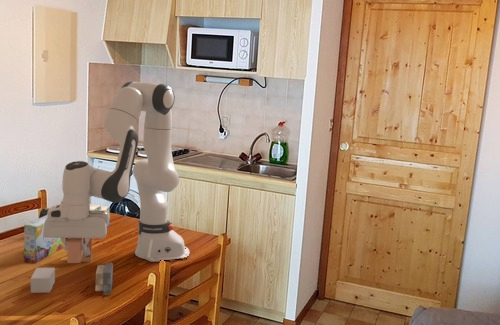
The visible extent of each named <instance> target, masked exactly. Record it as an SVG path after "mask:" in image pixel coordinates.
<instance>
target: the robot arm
mask: <svg viewBox="0 0 500 325" xmlns="http://www.w3.org/2000/svg"><path fill="white" fill-rule="evenodd" d="M175 99H176V97H175V92H174V90H173V88H172V87H170V86H169V85H167V84H165V83H157V82H154V81H153V82H151V81H127V82H126V83H124V84H123V85H122V86H121V88H120V89H119V90H118V92H117V93H116V95H115V96H114V98H113V100H112V101H111V103H110V105H109V107H108V110H107V112H106V114H105V117H104V120H103V121H104V122H103V126H104V129H105V132H106V133H107V134H108V135H109V137H111V138H112V139H113V140H114V141H116V142H117V143H118V144H119V152H118V155H117V156H118V157H117V160H116V165H115V168H114V170H112V171H109V170H104V169H100V168H96V167H93V166H92V165H90V164H89V163H88V162H87V161H83V160H77V161H72V162H69V163H67V164H66V165H65V167H64V168H63V172H62V184H61V185H62V186H61V189H62V193H63V195H62V200H61V202H62V204H61V203H60V204H56V205H53V206H51V207H49V208H50V209H49V210H48V212H47V216H48V217H47V219H46V220H45V223H44V230H43V235H44V236H45V237H46V238H61V241H62V243H63V245H64V251H67V244H68V241H65V240H67V239H69V238H85V241H86V242H85V244H82V245H81V250H86V245H87V244H88V242H89V240H90V238H92V239H104V238H106V236H107V234H108V226H107V225H106V223H107V222H108V215H107V213H105V212H104V211H90V204H91V199H90V198H91V197H94V198H97V199H101V200H104V201H105V200H106V201H107V202H111V203H113V204H114V203H116V204H117V203H120V202H121V201H123V200H124V199H125V198H126V197H127V195H128V194H129V193H130V189H131V175H132V174H133V177H134V178H135V181H136V185H137V190H138V197H139V202H140V203H139V204H140V207H139V208H140V209H139V220H138V228H137V229H138V230H137V231H138V232H137V233H138V239H137V244H136V249H135V251H134V254H135V256H137V258H140V259H144V260H147V261H148V262H152V263H155V262H161V261H160V260H170V261H172V260H171V259H179V258H184V257H187V256H189V254H190V249H189V247H187V246H185V241H184V238H183V237H182V236H181V235H180V234H179V233H177V232H176V231H175V230H174V225H173V222H172V221H171V220H168V209H169V207H168V206H169V203H168V200H167V198H166V195H165V193H171V192H172V191H174V190H175V189H176V188H177V187H178V185H179V182H180V181H179V180H180V177H179V173H178V171H177V170H176V167H175V163H174V158H173V153H172V137H173V136H172V135H173V134H172V133H173V113H172V111H173V110H172V108H173V106H174V103H175V101H176V100H175ZM141 112H145V115H144V123H143V142H142V146H143V150H144V151H145V154H146V158H143V159H138V161H136V162H135V158H136V155H137V149H138V145H139V136H138V133H137V132H136V131H137V130H136V129H137V124H138V121H139V120H140V119H139V118H140V116H141ZM104 213H105V214H104ZM185 248H186V249H185ZM189 257H190V256H189Z"/></svg>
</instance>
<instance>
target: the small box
mask: <svg viewBox="0 0 500 325" xmlns="http://www.w3.org/2000/svg"><path fill="white" fill-rule="evenodd" d="M69 239H70V238H68V240H69ZM92 240H93V238H90V240H89V242H88V244H87V245H86V250H83V256H82V258H81V261H80V263H89V262H92V246H93V244H92V243H93V242H92ZM85 242H86V241H85V238H83V244H85Z"/></svg>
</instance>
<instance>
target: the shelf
mask: <svg viewBox="0 0 500 325" xmlns="http://www.w3.org/2000/svg"><path fill="white" fill-rule="evenodd" d="M113 268H114V262H113V263H112V262H109V263H108V262H107V263H105V264H97V267H96V272H95V287H94V288H95V292H102V295H101V296H111V294H112V288H113V279H114V278H113V277H114V276H113V274H114V273H113V272H114V269H113Z"/></svg>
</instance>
